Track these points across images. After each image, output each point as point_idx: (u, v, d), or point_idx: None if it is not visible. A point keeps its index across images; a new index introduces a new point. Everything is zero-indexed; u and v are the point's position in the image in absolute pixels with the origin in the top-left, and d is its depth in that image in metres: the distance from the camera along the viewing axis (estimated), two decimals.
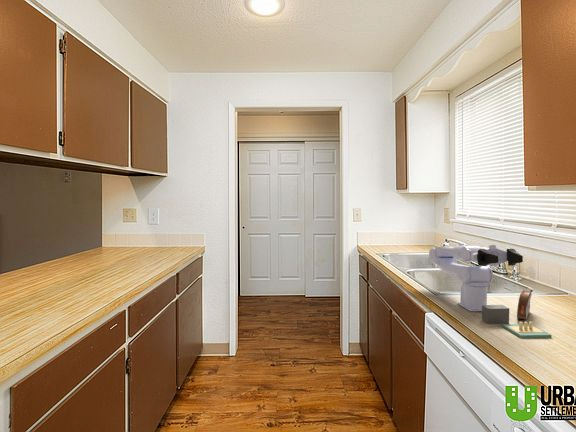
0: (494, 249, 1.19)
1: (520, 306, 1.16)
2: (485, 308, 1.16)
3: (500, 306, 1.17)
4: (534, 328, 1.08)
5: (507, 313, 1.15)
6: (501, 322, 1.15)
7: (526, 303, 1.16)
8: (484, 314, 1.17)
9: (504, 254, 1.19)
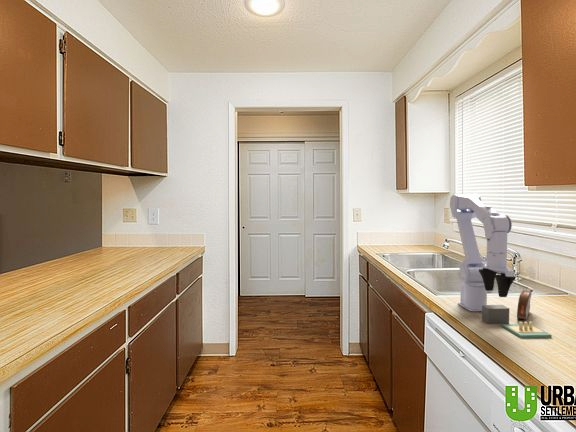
0: None
1: (520, 306, 1.16)
2: (485, 308, 1.16)
3: (500, 306, 1.17)
4: (534, 328, 1.08)
5: (507, 313, 1.15)
6: (501, 322, 1.15)
7: (526, 303, 1.16)
8: (484, 314, 1.17)
9: None
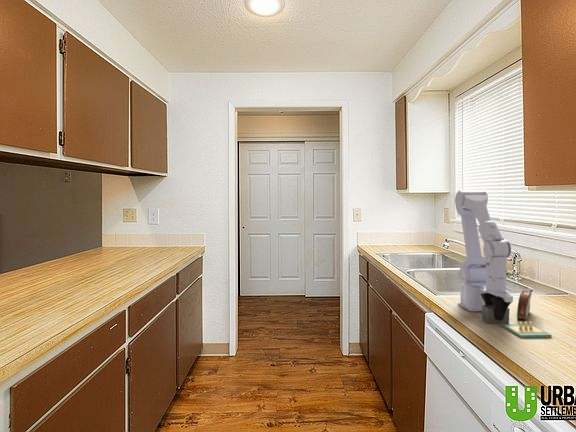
0: None
1: (520, 306, 1.16)
2: (485, 308, 1.16)
3: None
4: (534, 328, 1.08)
5: (507, 313, 1.15)
6: (501, 322, 1.15)
7: (526, 303, 1.16)
8: (484, 314, 1.17)
9: None
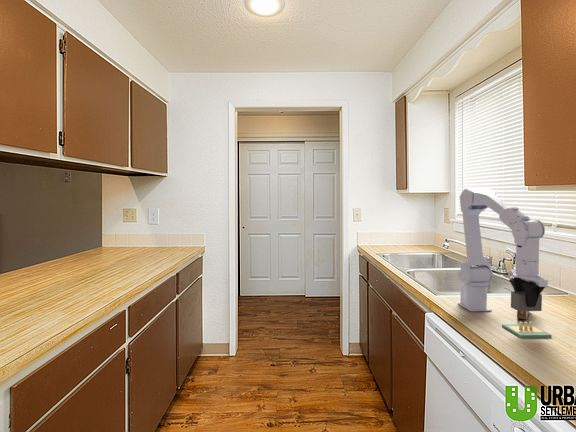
0: None
1: None
2: (515, 294, 1.07)
3: None
4: (534, 328, 1.08)
5: (539, 299, 1.05)
6: (533, 309, 1.05)
7: None
8: (514, 301, 1.08)
9: None
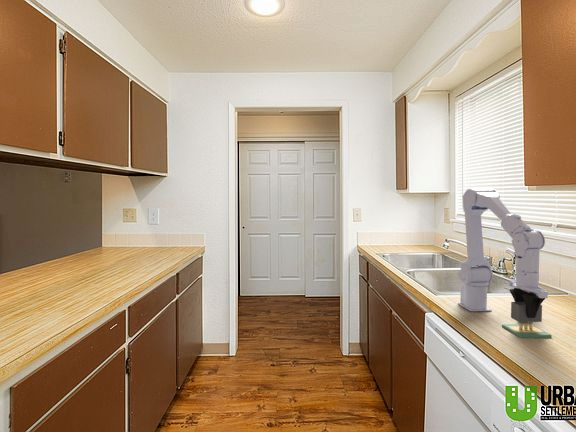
0: None
1: None
2: (515, 305, 1.07)
3: None
4: (534, 328, 1.08)
5: (540, 310, 1.05)
6: (533, 320, 1.06)
7: None
8: (514, 311, 1.08)
9: None
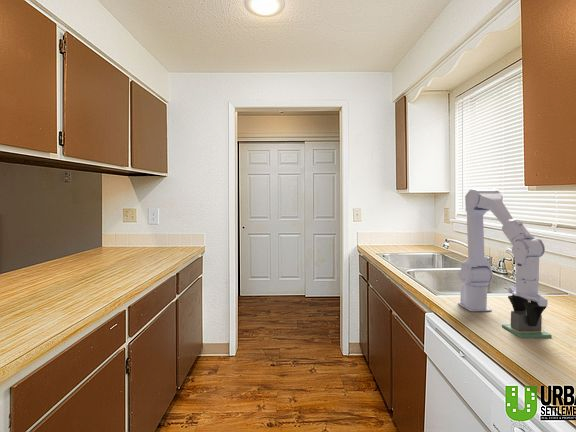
0: None
1: None
2: (515, 314, 1.07)
3: None
4: None
5: (539, 320, 1.06)
6: (533, 330, 1.06)
7: None
8: (514, 321, 1.08)
9: None
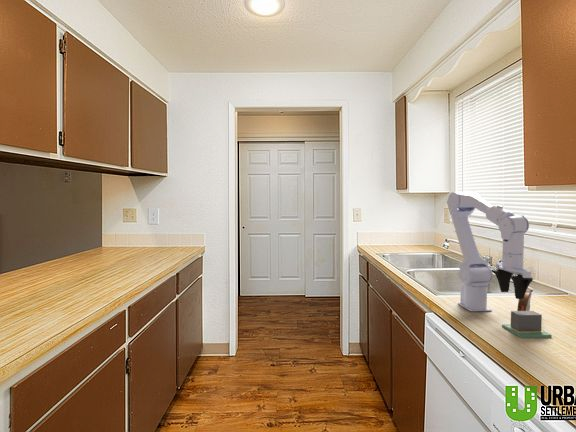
0: None
1: (520, 306, 1.16)
2: (515, 314, 1.07)
3: (531, 312, 1.08)
4: None
5: (539, 320, 1.06)
6: (533, 330, 1.06)
7: (526, 303, 1.16)
8: (514, 321, 1.08)
9: None
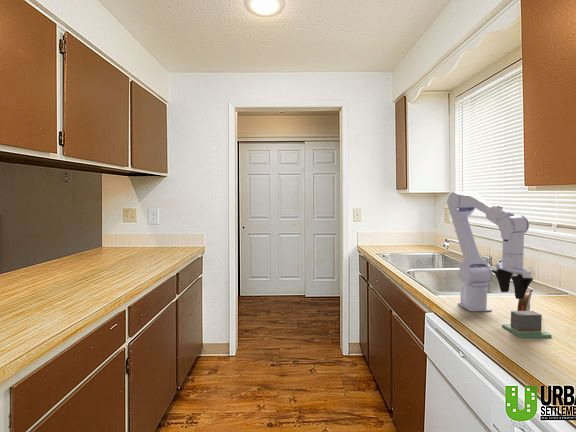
0: None
1: (520, 306, 1.16)
2: (515, 314, 1.07)
3: (531, 312, 1.08)
4: None
5: (539, 320, 1.06)
6: (533, 330, 1.06)
7: (526, 303, 1.16)
8: (514, 321, 1.08)
9: None
